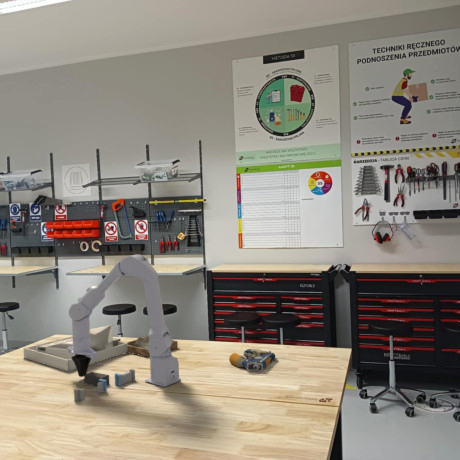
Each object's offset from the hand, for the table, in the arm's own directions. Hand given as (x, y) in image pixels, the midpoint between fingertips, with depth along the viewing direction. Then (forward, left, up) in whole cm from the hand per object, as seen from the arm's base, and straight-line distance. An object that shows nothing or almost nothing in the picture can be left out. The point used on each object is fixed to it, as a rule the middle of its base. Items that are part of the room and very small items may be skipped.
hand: (82, 375), depth 156 cm
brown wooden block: (+7, -38, -1) cm, 39 cm away
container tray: (+27, -16, -1) cm, 32 cm away
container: (+26, -17, -1) cm, 31 cm away
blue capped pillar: (-15, +2, -1) cm, 16 cm away
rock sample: (+6, -37, -2) cm, 37 cm away
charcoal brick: (-8, 0, -1) cm, 8 cm away
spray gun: (-39, -46, -2) cm, 61 cm away
